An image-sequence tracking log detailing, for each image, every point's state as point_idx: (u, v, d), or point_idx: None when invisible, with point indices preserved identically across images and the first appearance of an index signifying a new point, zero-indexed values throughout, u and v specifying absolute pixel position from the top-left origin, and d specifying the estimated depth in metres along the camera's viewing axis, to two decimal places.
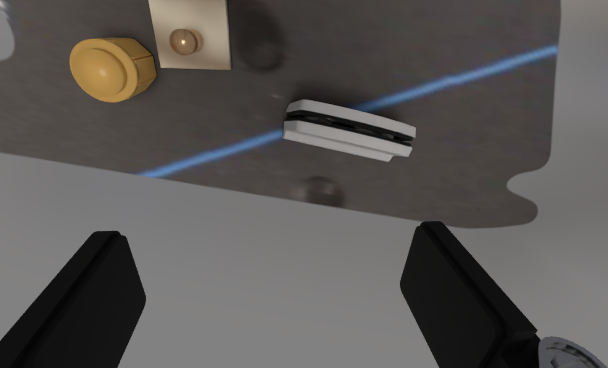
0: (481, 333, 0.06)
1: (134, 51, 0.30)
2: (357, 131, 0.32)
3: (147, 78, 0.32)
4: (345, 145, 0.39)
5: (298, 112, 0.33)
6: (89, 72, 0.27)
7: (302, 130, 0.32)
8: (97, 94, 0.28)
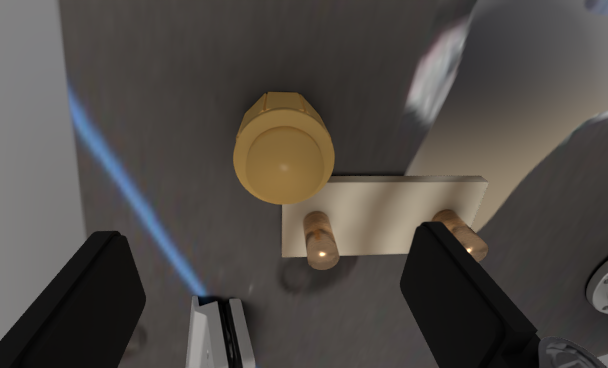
0: (481, 333, 0.06)
1: None
2: None
3: None
4: (198, 365, 0.32)
5: (237, 353, 0.26)
6: (287, 159, 0.15)
7: None
8: (249, 161, 0.15)
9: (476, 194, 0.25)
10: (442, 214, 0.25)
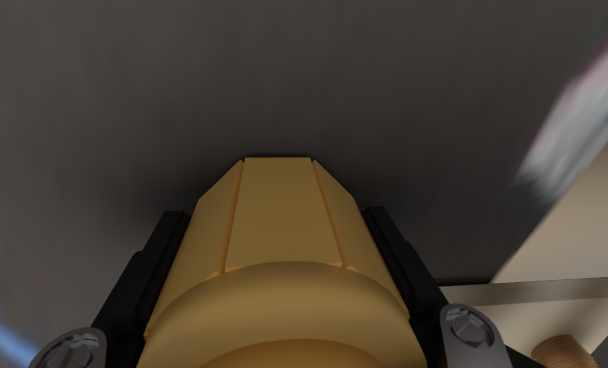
0: None
1: None
2: None
3: None
4: None
5: None
6: None
7: None
8: None
9: None
10: (557, 347, 0.15)
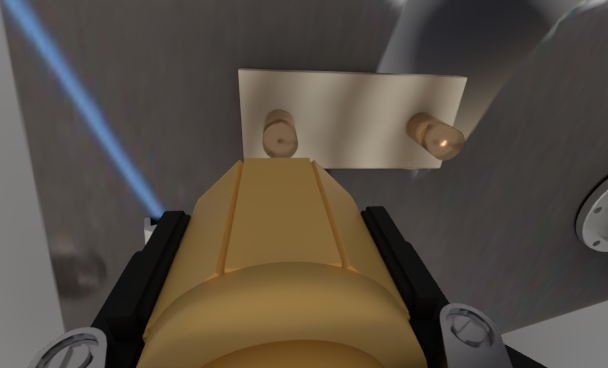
0: None
1: None
2: None
3: None
4: None
5: None
6: None
7: None
8: None
9: (454, 93, 0.23)
10: (417, 116, 0.23)
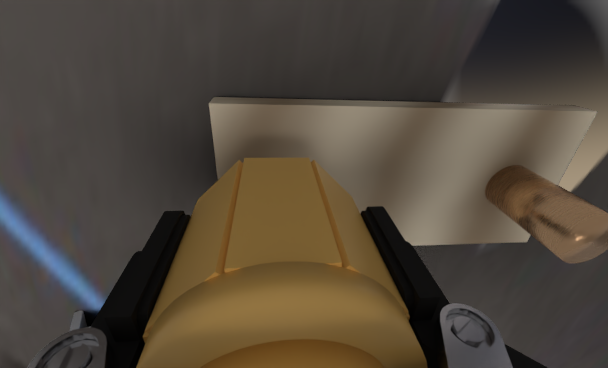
0: None
1: None
2: None
3: None
4: None
5: None
6: None
7: None
8: None
9: (571, 136, 0.14)
10: (509, 172, 0.14)
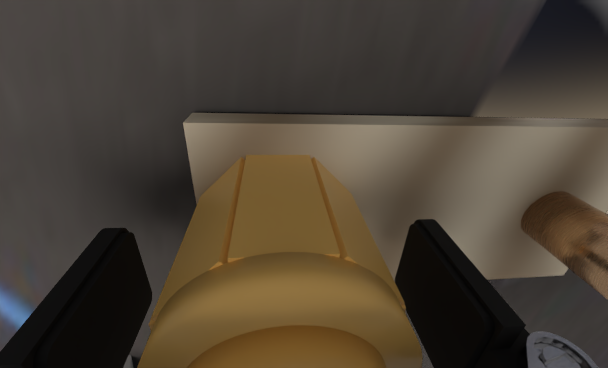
0: (471, 328, 0.06)
1: None
2: None
3: None
4: None
5: None
6: None
7: None
8: None
9: None
10: (553, 201, 0.12)
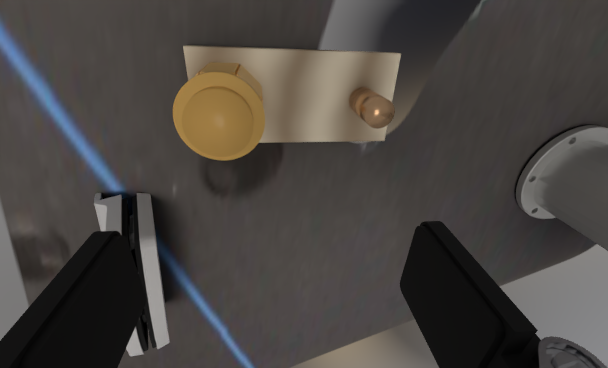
0: (481, 333, 0.06)
1: None
2: None
3: None
4: None
5: (135, 233, 0.25)
6: (219, 115, 0.18)
7: None
8: (184, 117, 0.18)
9: (390, 69, 0.25)
10: (357, 90, 0.25)
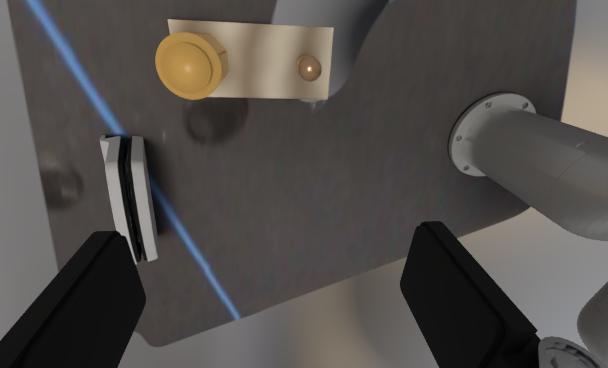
0: (481, 333, 0.06)
1: None
2: (128, 220, 0.33)
3: None
4: None
5: (128, 158, 0.33)
6: (185, 61, 0.26)
7: (107, 171, 0.31)
8: (162, 62, 0.26)
9: (326, 39, 0.33)
10: (300, 55, 0.33)
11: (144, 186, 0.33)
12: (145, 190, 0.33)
